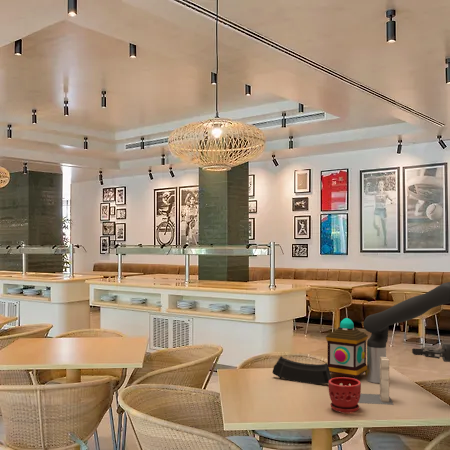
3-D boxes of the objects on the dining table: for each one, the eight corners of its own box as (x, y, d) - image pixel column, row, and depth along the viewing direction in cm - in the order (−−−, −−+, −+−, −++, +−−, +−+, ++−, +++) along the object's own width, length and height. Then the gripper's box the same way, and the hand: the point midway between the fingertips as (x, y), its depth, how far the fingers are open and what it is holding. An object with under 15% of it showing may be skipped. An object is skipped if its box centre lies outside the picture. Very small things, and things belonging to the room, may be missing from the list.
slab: (379, 397, 241) (380, 356, 242) (387, 398, 241) (387, 357, 241) (381, 401, 235) (381, 359, 236) (389, 402, 235) (389, 360, 235)
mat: (338, 393, 249) (338, 392, 249) (388, 396, 246) (388, 394, 246) (340, 403, 234) (340, 402, 234) (393, 406, 231) (393, 404, 231)
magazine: (337, 367, 263) (282, 343, 277) (335, 368, 260) (280, 344, 274) (327, 399, 265) (273, 374, 279) (325, 401, 262) (270, 375, 276)
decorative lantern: (358, 383, 267) (358, 322, 268) (320, 377, 278) (321, 318, 279) (372, 375, 284) (372, 317, 285) (336, 370, 295) (336, 314, 296)
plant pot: (324, 405, 231) (324, 376, 232) (355, 405, 232) (355, 376, 232) (333, 415, 218) (333, 385, 219) (365, 414, 219) (365, 384, 219)
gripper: (450, 341, 241) (409, 340, 244) (459, 347, 227) (416, 346, 230) (450, 358, 241) (409, 357, 243) (459, 365, 227) (416, 363, 230)
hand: (413, 351), depth 237 cm, fingers closed
